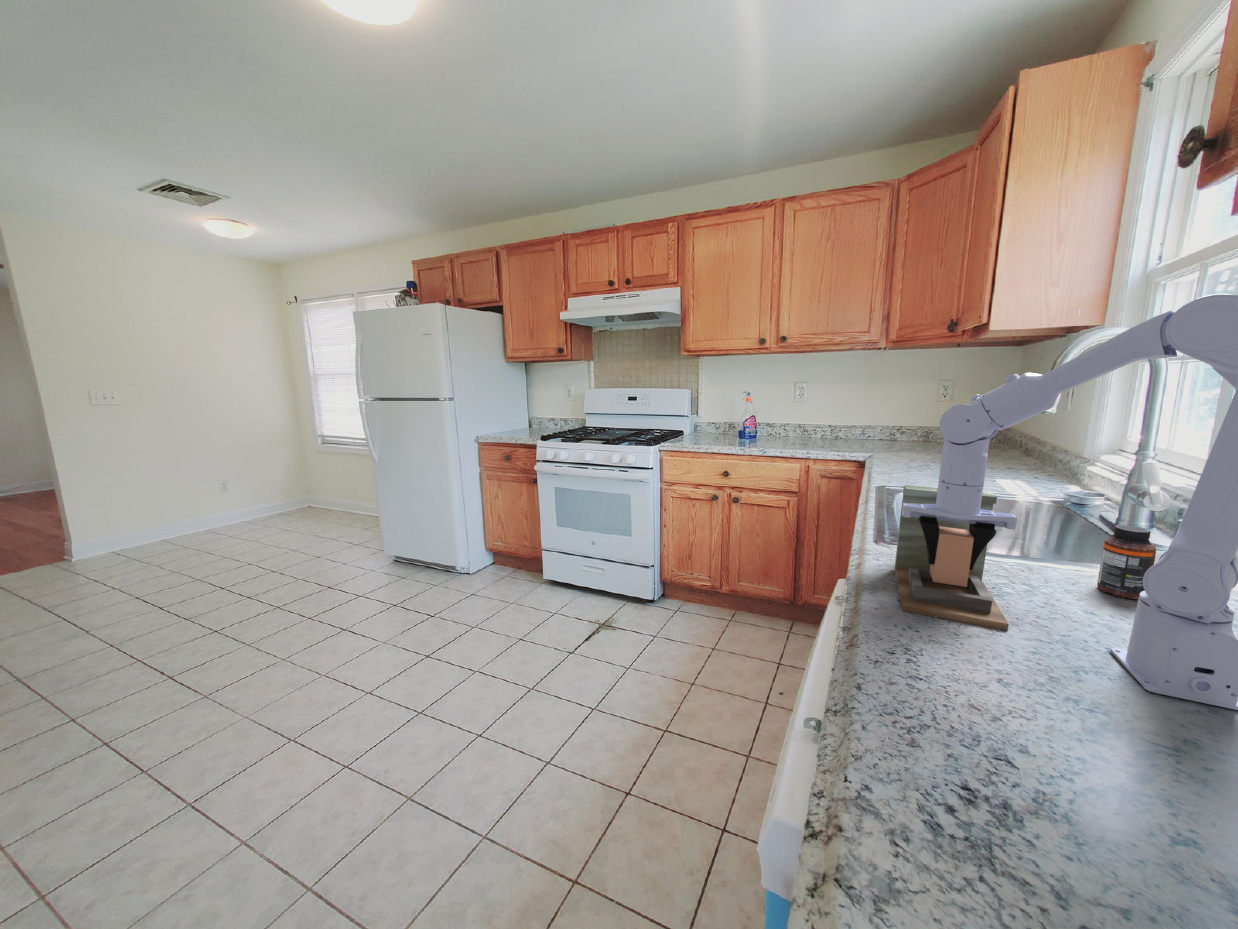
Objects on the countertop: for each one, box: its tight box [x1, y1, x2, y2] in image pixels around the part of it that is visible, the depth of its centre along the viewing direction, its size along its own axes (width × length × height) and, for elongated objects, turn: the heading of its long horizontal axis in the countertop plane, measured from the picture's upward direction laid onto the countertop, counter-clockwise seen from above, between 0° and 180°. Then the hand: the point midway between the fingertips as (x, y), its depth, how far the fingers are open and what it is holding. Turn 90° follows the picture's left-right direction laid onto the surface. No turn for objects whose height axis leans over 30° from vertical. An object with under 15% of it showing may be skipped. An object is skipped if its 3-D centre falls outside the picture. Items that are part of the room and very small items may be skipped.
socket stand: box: [894, 484, 1010, 631], centre depth 77 cm, size 18×13×16 cm
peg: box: [930, 526, 974, 587], centre depth 76 cm, size 4×4×8 cm
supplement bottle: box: [1096, 524, 1157, 600], centre depth 79 cm, size 6×6×11 cm
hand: (949, 565), depth 76 cm, fingers closed on peg, 4 cm apart
